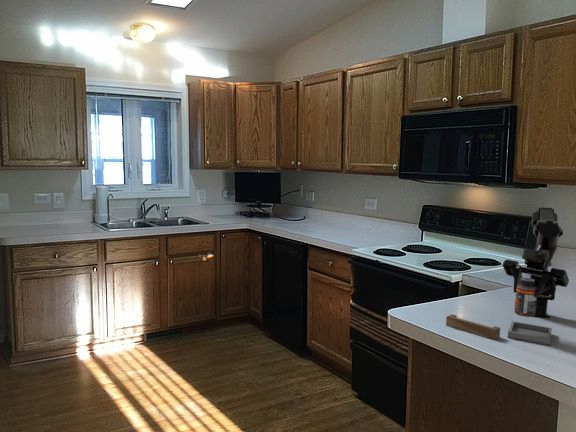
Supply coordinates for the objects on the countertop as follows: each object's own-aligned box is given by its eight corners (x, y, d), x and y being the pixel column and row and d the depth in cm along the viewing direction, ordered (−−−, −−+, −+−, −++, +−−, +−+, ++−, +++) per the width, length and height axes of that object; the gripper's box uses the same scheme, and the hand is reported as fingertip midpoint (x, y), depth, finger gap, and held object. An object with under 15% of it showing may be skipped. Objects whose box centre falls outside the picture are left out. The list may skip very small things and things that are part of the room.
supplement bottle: (510, 311, 160) (513, 276, 158) (529, 311, 160) (532, 276, 158) (519, 317, 154) (523, 281, 152) (539, 317, 154) (542, 281, 152)
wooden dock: (451, 323, 167) (452, 314, 166) (499, 337, 155) (500, 327, 154) (445, 325, 164) (446, 316, 164) (494, 339, 152) (494, 330, 152)
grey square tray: (511, 327, 164) (512, 321, 164) (551, 334, 159) (551, 327, 159) (507, 337, 154) (508, 331, 154) (549, 345, 149) (550, 339, 149)
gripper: (507, 234, 163) (488, 272, 158) (568, 243, 149) (550, 285, 144) (516, 255, 169) (498, 293, 164) (576, 266, 156) (558, 307, 150)
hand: (524, 294), depth 155 cm, fingers closed on supplement bottle, 6 cm apart
